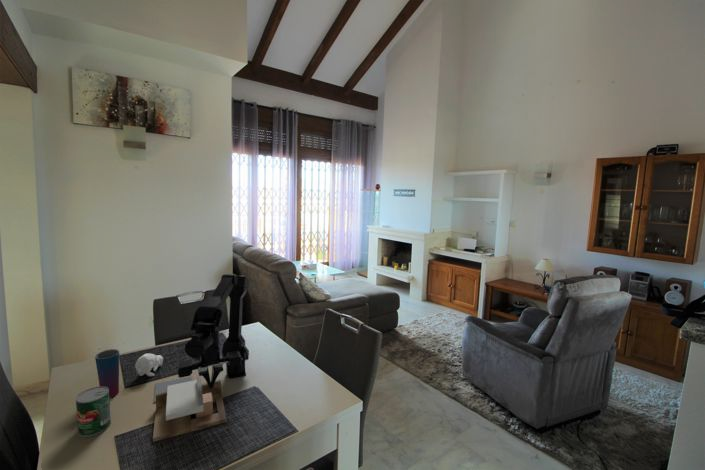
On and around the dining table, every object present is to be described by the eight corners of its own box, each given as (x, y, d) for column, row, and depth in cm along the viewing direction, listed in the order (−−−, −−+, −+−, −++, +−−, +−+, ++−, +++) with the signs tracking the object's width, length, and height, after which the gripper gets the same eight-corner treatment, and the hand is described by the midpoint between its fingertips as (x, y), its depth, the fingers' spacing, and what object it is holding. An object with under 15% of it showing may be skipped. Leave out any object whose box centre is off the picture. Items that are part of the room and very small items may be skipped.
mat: (191, 377, 129) (191, 376, 129) (192, 394, 119) (192, 393, 119) (156, 384, 124) (156, 383, 124) (153, 403, 113) (153, 402, 113)
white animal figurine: (133, 357, 126) (153, 345, 138) (133, 379, 126) (153, 365, 138) (149, 357, 126) (168, 346, 138) (149, 380, 126) (168, 366, 138)
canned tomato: (74, 439, 96) (71, 404, 95) (83, 422, 103) (80, 389, 102) (107, 432, 99) (104, 398, 98) (114, 416, 106) (111, 384, 105)
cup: (109, 401, 114) (106, 359, 112) (92, 398, 115) (89, 357, 113) (126, 389, 120) (124, 350, 118) (110, 387, 121) (108, 348, 120)
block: (211, 406, 113) (211, 392, 112) (213, 415, 109) (212, 400, 108) (195, 410, 111) (195, 396, 110) (196, 419, 106) (195, 404, 106)
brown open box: (220, 394, 119) (220, 379, 119) (226, 422, 105) (226, 406, 105) (156, 409, 110) (155, 393, 110) (152, 442, 96) (152, 424, 95)
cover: (200, 383, 116) (200, 373, 115) (203, 411, 101) (203, 400, 101) (167, 390, 111) (167, 380, 111) (165, 420, 97) (165, 409, 96)
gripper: (236, 328, 119) (236, 369, 121) (177, 337, 110) (179, 381, 112) (241, 341, 109) (242, 385, 111) (177, 352, 100) (179, 400, 103)
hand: (211, 387), depth 110 cm, fingers closed
